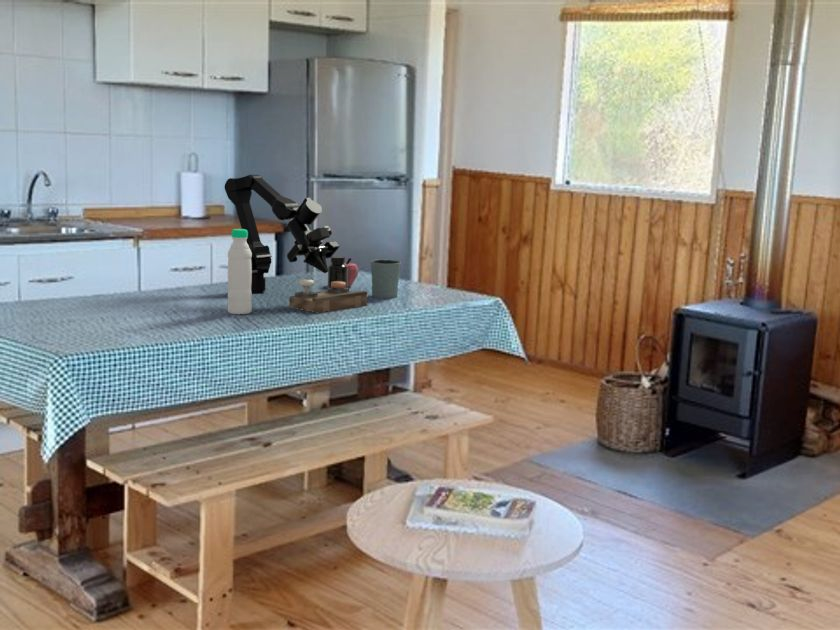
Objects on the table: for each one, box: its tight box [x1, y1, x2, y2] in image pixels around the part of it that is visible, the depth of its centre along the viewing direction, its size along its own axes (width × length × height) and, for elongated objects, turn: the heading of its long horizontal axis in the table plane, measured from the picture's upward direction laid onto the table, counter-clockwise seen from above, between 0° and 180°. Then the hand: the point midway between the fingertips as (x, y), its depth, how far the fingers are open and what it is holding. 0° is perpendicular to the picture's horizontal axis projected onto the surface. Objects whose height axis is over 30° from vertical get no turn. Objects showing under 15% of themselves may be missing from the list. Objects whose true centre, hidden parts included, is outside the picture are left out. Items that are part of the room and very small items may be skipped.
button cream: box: [298, 278, 315, 294], centre depth 305 cm, size 5×5×6 cm
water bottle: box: [227, 228, 253, 316], centre depth 292 cm, size 7×7×25 cm
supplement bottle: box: [327, 255, 349, 289], centre depth 337 cm, size 7×7×12 cm
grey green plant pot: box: [370, 258, 402, 300], centre depth 331 cm, size 10×10×12 cm
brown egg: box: [331, 281, 346, 289], centre depth 316 cm, size 5×5×6 cm
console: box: [288, 287, 368, 313], centre depth 309 cm, size 12×22×5 cm, turn 140°
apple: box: [344, 257, 360, 287], centre depth 349 cm, size 10×9×10 cm
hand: (326, 272), depth 309 cm, fingers closed
